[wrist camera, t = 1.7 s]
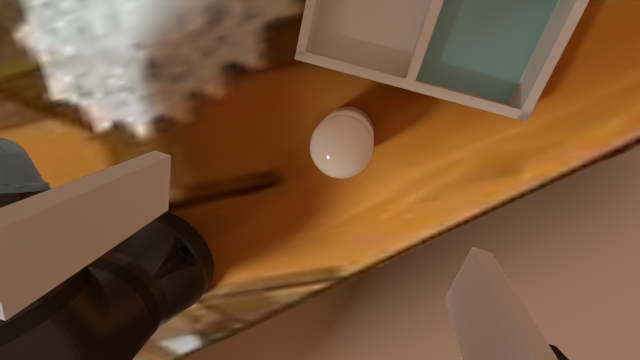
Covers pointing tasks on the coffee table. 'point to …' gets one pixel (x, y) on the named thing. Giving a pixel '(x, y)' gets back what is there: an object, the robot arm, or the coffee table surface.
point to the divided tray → (445, 46)
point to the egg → (343, 143)
